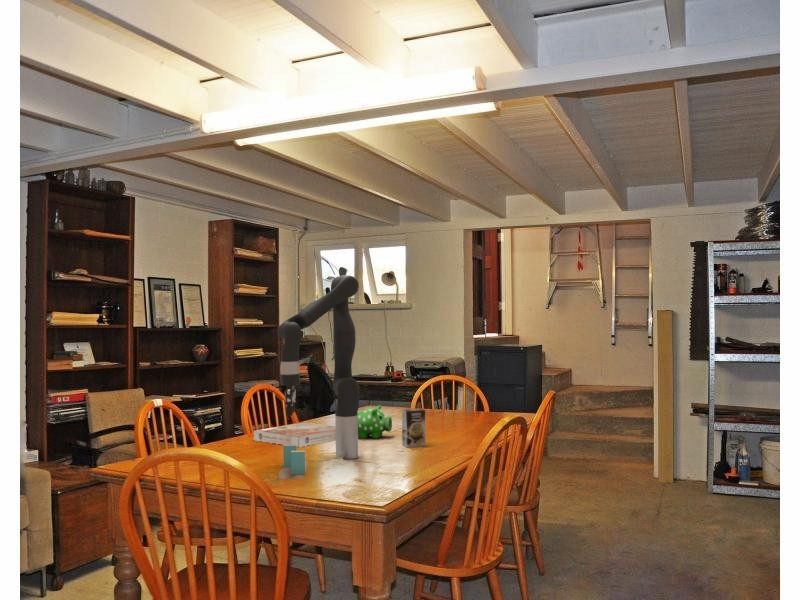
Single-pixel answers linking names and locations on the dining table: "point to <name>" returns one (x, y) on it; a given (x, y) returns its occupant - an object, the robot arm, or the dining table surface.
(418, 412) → the coffee box
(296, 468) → the tile
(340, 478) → the dining table surface
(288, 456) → the tile
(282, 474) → the board
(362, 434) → the piggy bank
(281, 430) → the pizza box
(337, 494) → the dining table surface
